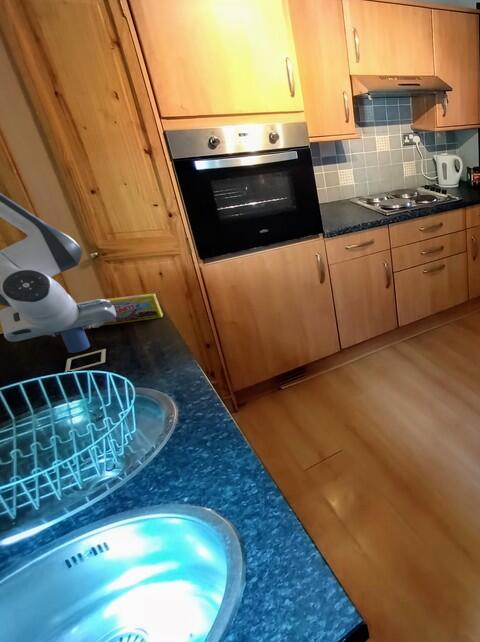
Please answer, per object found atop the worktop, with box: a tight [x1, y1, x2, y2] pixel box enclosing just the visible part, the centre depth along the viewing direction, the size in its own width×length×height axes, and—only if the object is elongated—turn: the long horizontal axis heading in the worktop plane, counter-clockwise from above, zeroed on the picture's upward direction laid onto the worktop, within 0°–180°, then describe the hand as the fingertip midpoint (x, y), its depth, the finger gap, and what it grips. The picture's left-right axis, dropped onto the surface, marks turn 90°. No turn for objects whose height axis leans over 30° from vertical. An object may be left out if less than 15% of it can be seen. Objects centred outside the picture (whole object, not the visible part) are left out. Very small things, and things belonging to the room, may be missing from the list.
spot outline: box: [64, 348, 107, 373], centre depth 122 cm, size 8×8×1 cm
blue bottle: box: [60, 327, 91, 354], centre depth 118 cm, size 4×4×12 cm
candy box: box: [102, 292, 164, 326], centre depth 140 cm, size 16×2×8 cm, turn 110°
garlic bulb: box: [90, 321, 106, 329], centre depth 139 cm, size 6×6×5 cm
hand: (71, 329), depth 119 cm, fingers closed on blue bottle, 4 cm apart
